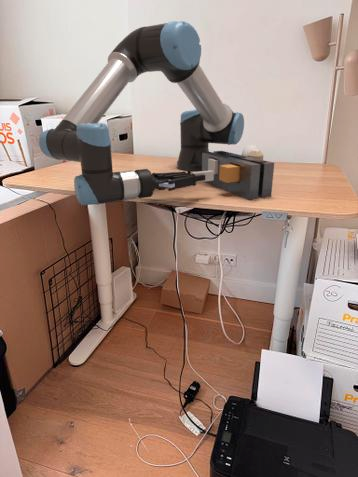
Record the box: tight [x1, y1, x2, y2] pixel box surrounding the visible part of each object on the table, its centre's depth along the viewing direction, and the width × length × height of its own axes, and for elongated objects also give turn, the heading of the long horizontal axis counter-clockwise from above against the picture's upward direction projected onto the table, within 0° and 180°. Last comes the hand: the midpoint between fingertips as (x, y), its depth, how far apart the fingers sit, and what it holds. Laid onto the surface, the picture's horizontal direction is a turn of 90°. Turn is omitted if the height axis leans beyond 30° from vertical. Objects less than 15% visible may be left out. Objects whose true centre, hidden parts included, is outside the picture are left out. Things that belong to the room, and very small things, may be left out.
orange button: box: [219, 164, 240, 183], centre depth 101 cm, size 4×4×4 cm
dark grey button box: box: [201, 150, 275, 201], centre depth 108 cm, size 8×28×10 cm, turn 26°
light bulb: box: [241, 143, 260, 157], centre depth 130 cm, size 7×7×11 cm
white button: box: [208, 158, 219, 174], centre depth 112 cm, size 4×4×4 cm
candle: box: [248, 150, 264, 160], centre depth 121 cm, size 6×6×10 cm
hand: (212, 175), depth 98 cm, fingers closed
